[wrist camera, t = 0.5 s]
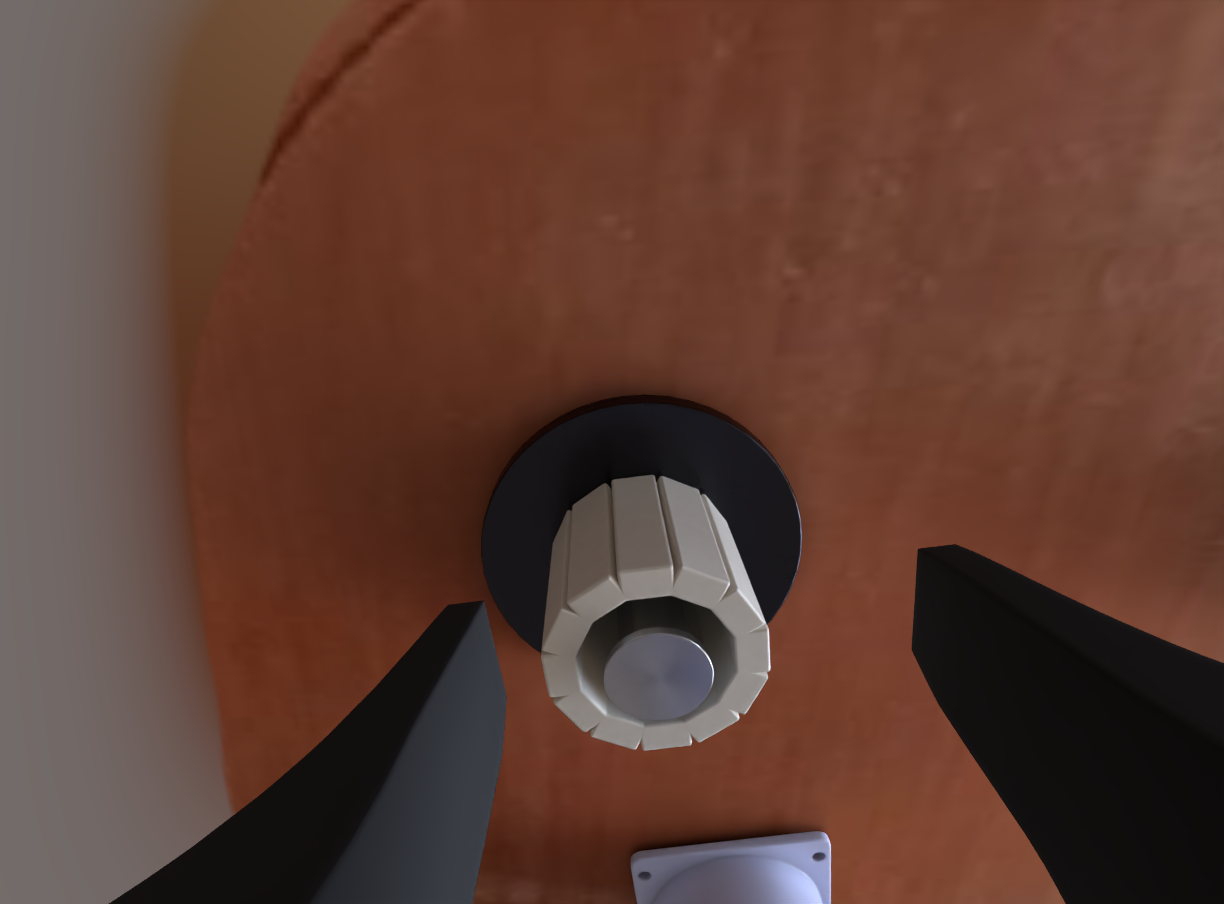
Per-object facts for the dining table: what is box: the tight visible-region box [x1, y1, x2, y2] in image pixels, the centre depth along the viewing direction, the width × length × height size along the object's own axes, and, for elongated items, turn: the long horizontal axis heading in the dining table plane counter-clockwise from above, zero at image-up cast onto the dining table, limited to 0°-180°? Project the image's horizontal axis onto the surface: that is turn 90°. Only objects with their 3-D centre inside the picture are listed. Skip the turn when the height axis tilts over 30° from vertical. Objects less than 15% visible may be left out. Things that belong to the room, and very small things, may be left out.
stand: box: [481, 395, 802, 721], centre depth 19 cm, size 10×10×6 cm
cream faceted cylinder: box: [541, 475, 770, 750], centre depth 18 cm, size 6×6×5 cm
